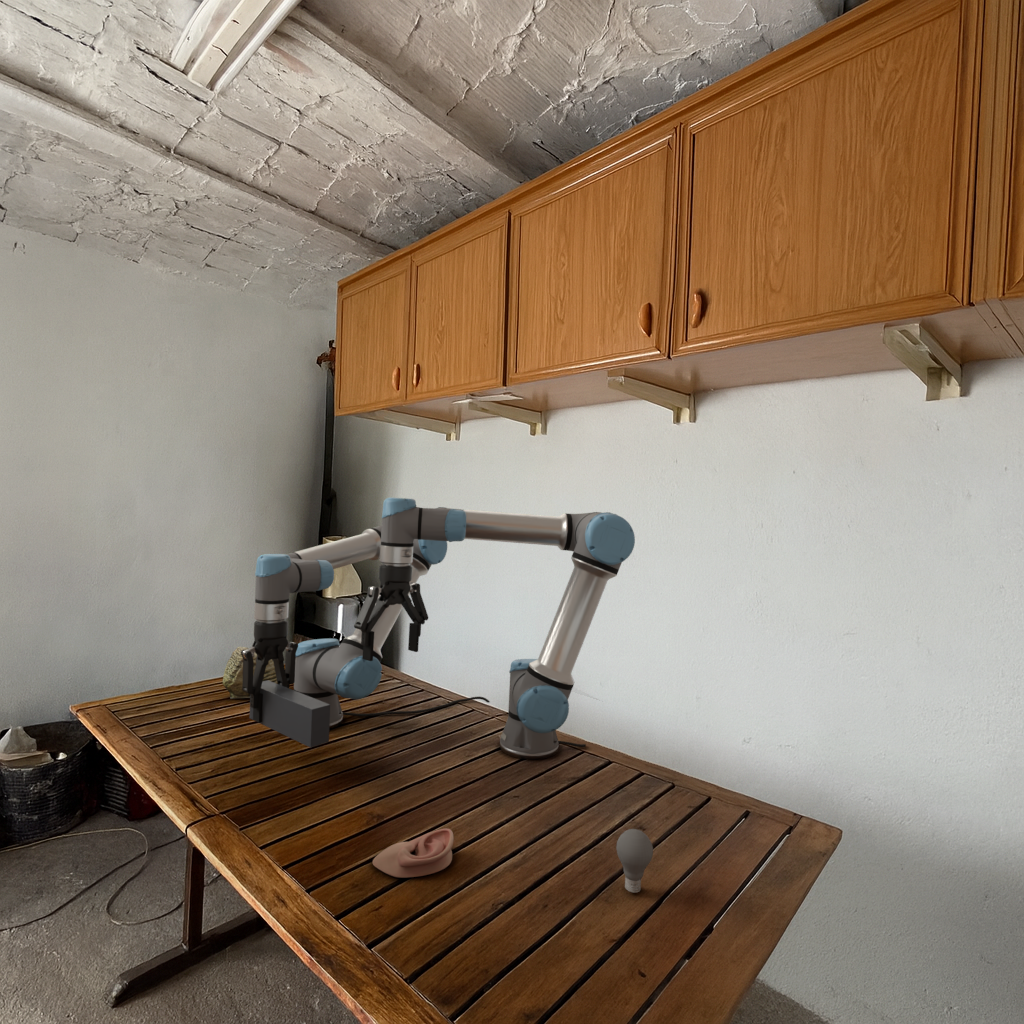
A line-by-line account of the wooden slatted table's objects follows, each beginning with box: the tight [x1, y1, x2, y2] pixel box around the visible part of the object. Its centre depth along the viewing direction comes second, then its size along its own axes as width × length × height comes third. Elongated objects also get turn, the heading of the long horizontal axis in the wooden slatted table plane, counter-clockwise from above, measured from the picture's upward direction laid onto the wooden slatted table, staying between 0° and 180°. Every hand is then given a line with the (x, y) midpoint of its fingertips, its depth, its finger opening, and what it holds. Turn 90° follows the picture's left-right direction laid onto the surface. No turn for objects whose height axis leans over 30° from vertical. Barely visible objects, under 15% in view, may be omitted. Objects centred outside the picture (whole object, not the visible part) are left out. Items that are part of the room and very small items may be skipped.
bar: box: [249, 680, 330, 749], centre depth 144 cm, size 25×5×8 cm, turn 51°
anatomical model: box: [372, 828, 455, 879], centre depth 112 cm, size 13×4×12 cm
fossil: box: [222, 646, 278, 699], centre depth 198 cm, size 9×18×15 cm, turn 132°
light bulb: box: [615, 828, 654, 894], centre depth 106 cm, size 6×6×10 cm
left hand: (267, 717), depth 150 cm, fingers closed on bar, 5 cm apart
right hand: (391, 655), depth 147 cm, fingers open, 13 cm apart
